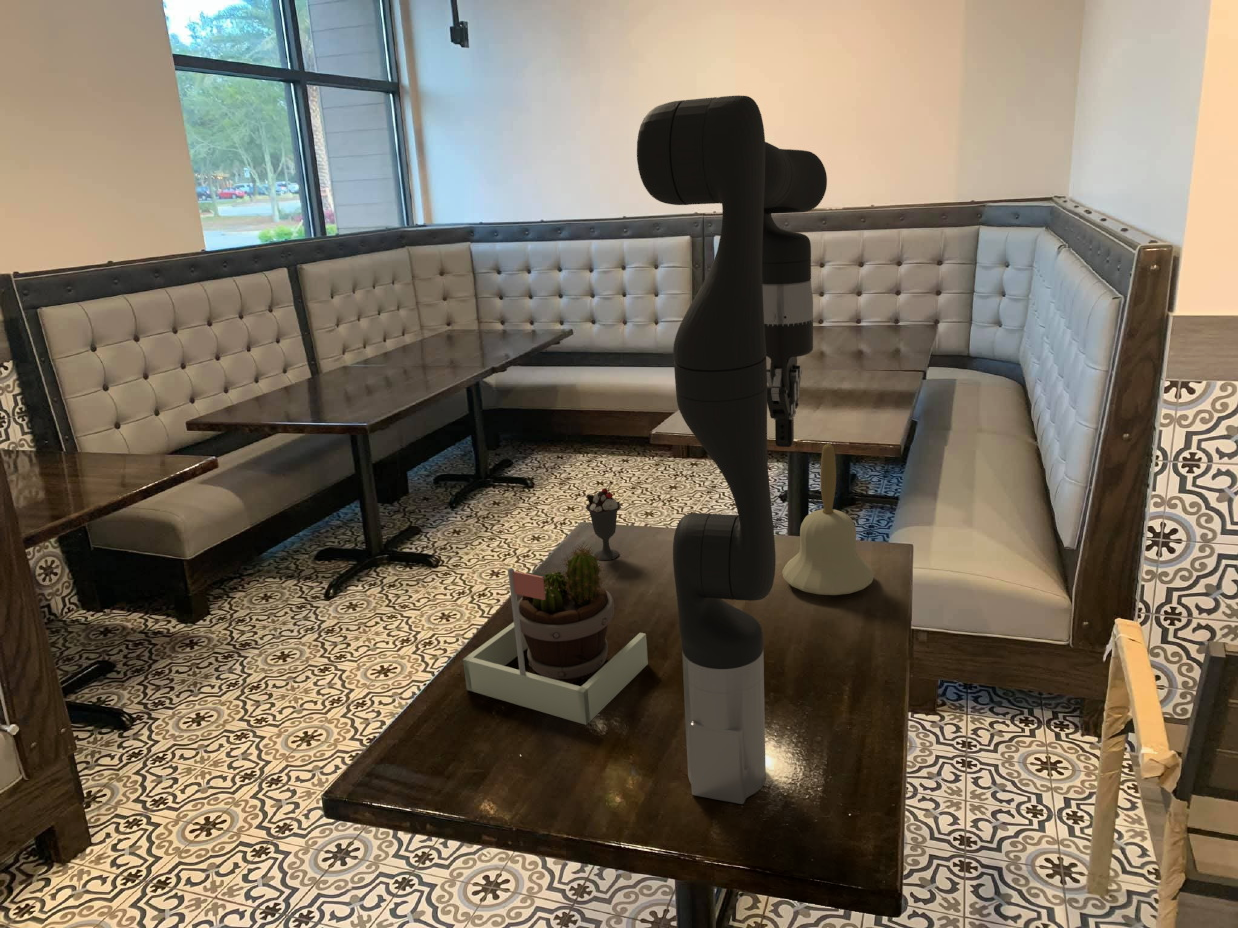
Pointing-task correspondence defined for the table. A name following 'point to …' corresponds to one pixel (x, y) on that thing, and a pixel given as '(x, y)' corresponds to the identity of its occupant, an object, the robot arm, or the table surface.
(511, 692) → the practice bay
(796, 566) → the handbell
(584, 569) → the flowerpot
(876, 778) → the table surface
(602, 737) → the table surface
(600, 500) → the sundae
